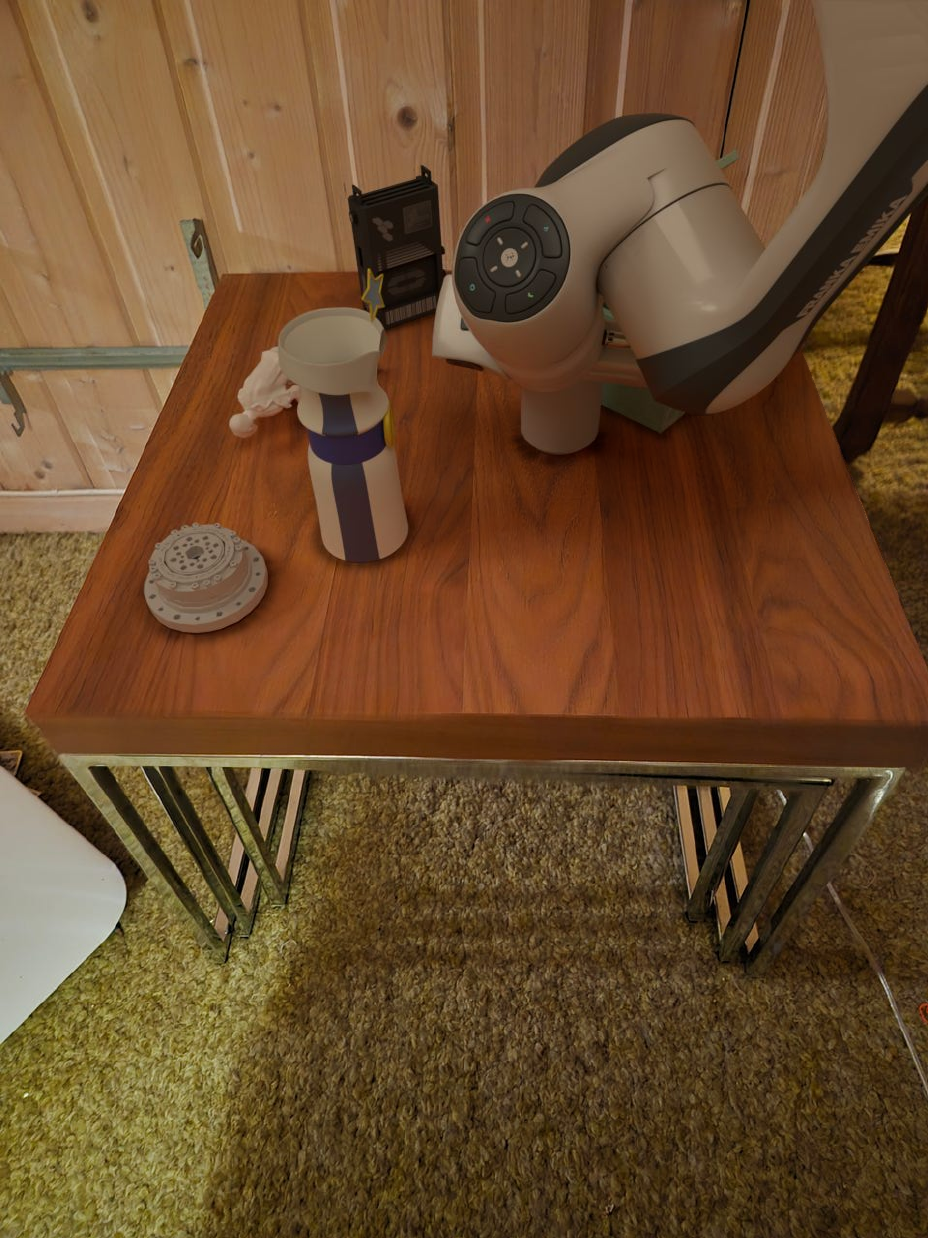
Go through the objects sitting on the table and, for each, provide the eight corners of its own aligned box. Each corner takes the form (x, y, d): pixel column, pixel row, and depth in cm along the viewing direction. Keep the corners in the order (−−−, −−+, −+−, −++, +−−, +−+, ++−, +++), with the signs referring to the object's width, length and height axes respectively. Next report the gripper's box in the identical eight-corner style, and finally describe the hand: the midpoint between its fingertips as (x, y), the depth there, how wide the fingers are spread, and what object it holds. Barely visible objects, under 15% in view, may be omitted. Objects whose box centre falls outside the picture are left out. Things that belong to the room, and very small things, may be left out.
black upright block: (434, 288, 100) (425, 155, 88) (453, 305, 98) (446, 170, 86) (356, 315, 97) (335, 180, 85) (373, 333, 94) (355, 197, 83)
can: (578, 469, 78) (588, 356, 69) (507, 446, 81) (507, 334, 72) (609, 424, 82) (622, 312, 73) (541, 404, 85) (545, 293, 76)
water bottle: (413, 494, 77) (384, 222, 58) (412, 562, 72) (378, 286, 52) (324, 498, 77) (265, 228, 58) (316, 565, 72) (247, 292, 52)
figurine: (322, 396, 94) (204, 430, 80) (328, 323, 90) (204, 346, 76) (373, 415, 92) (260, 453, 78) (381, 341, 88) (263, 368, 74)
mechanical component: (284, 607, 69) (249, 532, 75) (273, 571, 65) (237, 495, 71) (164, 652, 66) (138, 571, 72) (146, 617, 63) (120, 534, 69)
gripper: (694, 300, 60) (687, 346, 74) (424, 271, 65) (464, 319, 78) (677, 389, 61) (673, 418, 75) (411, 354, 65) (453, 388, 79)
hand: (565, 367), depth 76 cm, fingers open, 8 cm apart
